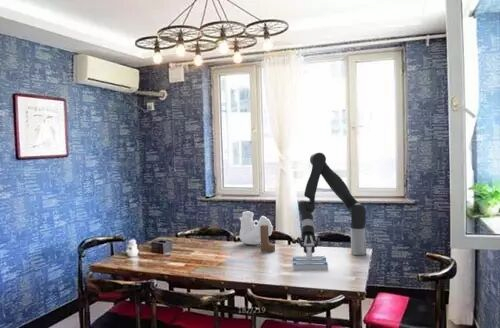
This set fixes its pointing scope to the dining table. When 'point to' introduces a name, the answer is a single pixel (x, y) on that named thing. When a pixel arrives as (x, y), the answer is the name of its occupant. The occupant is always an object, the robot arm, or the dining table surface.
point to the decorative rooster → (252, 228)
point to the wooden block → (266, 240)
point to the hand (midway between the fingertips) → (309, 252)
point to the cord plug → (309, 251)
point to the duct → (309, 262)
